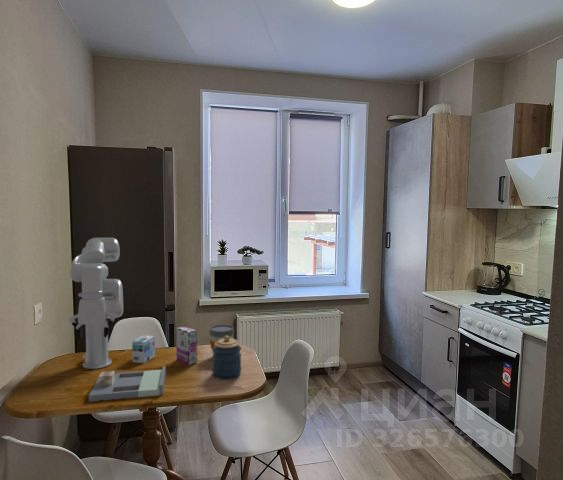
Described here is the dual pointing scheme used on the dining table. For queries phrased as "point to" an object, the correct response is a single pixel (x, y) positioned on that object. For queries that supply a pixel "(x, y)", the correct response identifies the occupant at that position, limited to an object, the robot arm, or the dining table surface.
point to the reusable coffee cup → (220, 333)
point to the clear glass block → (106, 378)
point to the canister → (226, 358)
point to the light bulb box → (143, 349)
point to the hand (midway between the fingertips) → (93, 337)
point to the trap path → (131, 385)
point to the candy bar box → (187, 345)
